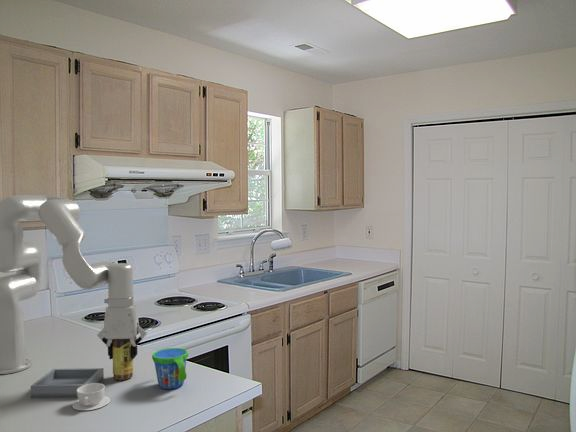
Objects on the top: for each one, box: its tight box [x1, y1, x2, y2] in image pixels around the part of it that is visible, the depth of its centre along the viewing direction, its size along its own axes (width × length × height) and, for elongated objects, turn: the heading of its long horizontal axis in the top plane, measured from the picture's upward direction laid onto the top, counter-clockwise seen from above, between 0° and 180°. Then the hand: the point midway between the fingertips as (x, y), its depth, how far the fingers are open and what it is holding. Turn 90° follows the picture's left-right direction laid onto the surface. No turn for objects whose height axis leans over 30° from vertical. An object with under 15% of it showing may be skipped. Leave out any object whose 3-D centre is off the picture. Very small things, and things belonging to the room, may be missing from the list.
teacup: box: [71, 382, 111, 411], centre depth 141 cm, size 10×10×5 cm
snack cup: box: [151, 347, 189, 390], centre depth 153 cm, size 16×10×10 cm
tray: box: [30, 367, 105, 399], centre depth 152 cm, size 16×14×4 cm
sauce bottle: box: [112, 339, 134, 381], centre depth 160 cm, size 7×6×20 cm
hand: (122, 357), depth 160 cm, fingers closed on sauce bottle, 6 cm apart
